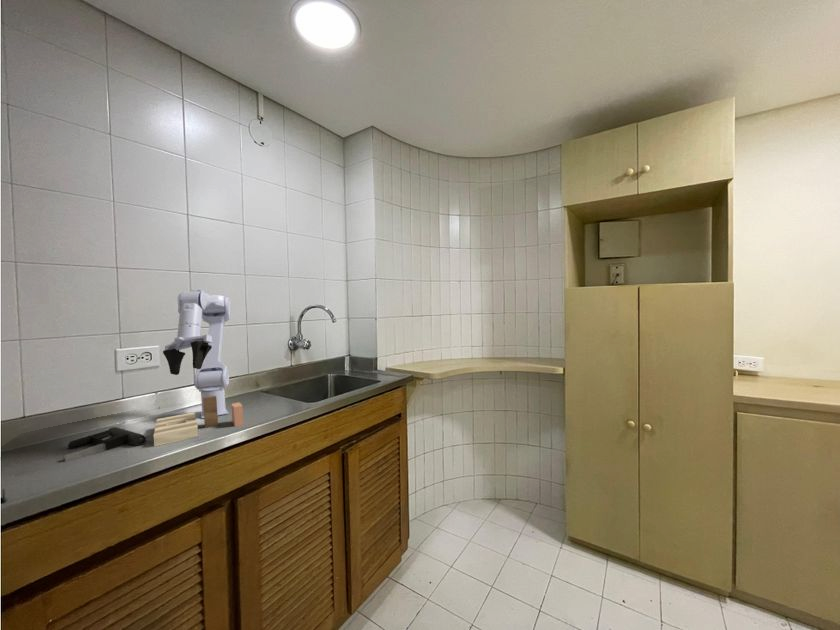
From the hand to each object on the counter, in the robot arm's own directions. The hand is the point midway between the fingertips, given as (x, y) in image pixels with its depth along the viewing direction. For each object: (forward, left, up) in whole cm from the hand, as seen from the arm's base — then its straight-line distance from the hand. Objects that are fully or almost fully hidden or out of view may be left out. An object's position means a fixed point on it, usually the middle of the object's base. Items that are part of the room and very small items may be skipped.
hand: (185, 371), depth 98 cm
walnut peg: (-9, +6, -19) cm, 22 cm away
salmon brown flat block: (-5, +13, -19) cm, 24 cm away
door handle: (-10, -20, -20) cm, 30 cm away
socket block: (-9, -3, -19) cm, 21 cm away
